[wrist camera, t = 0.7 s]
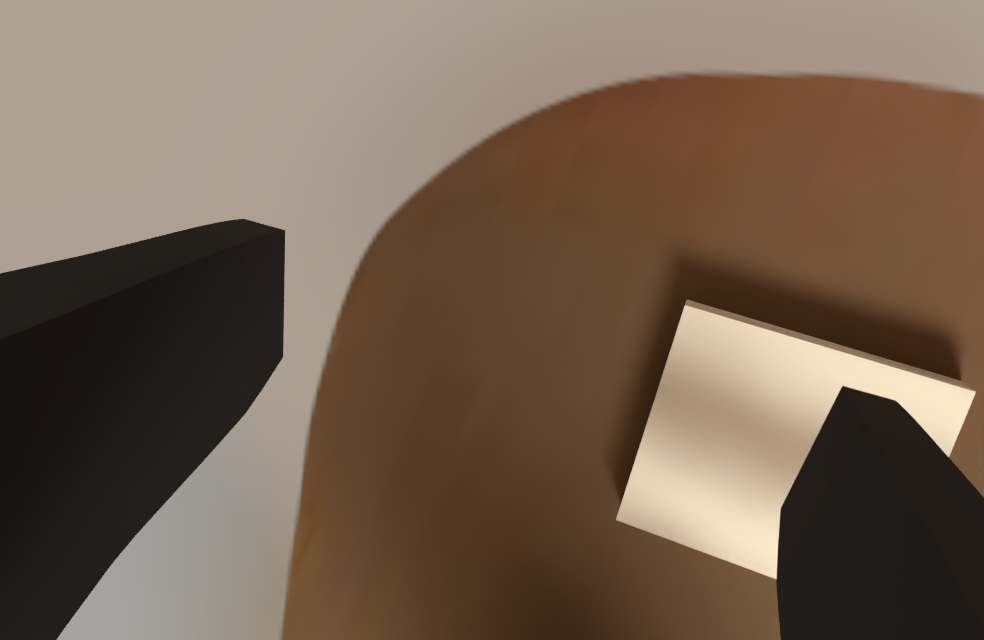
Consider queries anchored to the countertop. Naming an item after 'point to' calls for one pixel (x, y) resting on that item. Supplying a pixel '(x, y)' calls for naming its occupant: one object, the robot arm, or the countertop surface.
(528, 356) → the countertop surface
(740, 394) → the cream block
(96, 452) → the robot arm
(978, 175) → the countertop surface
